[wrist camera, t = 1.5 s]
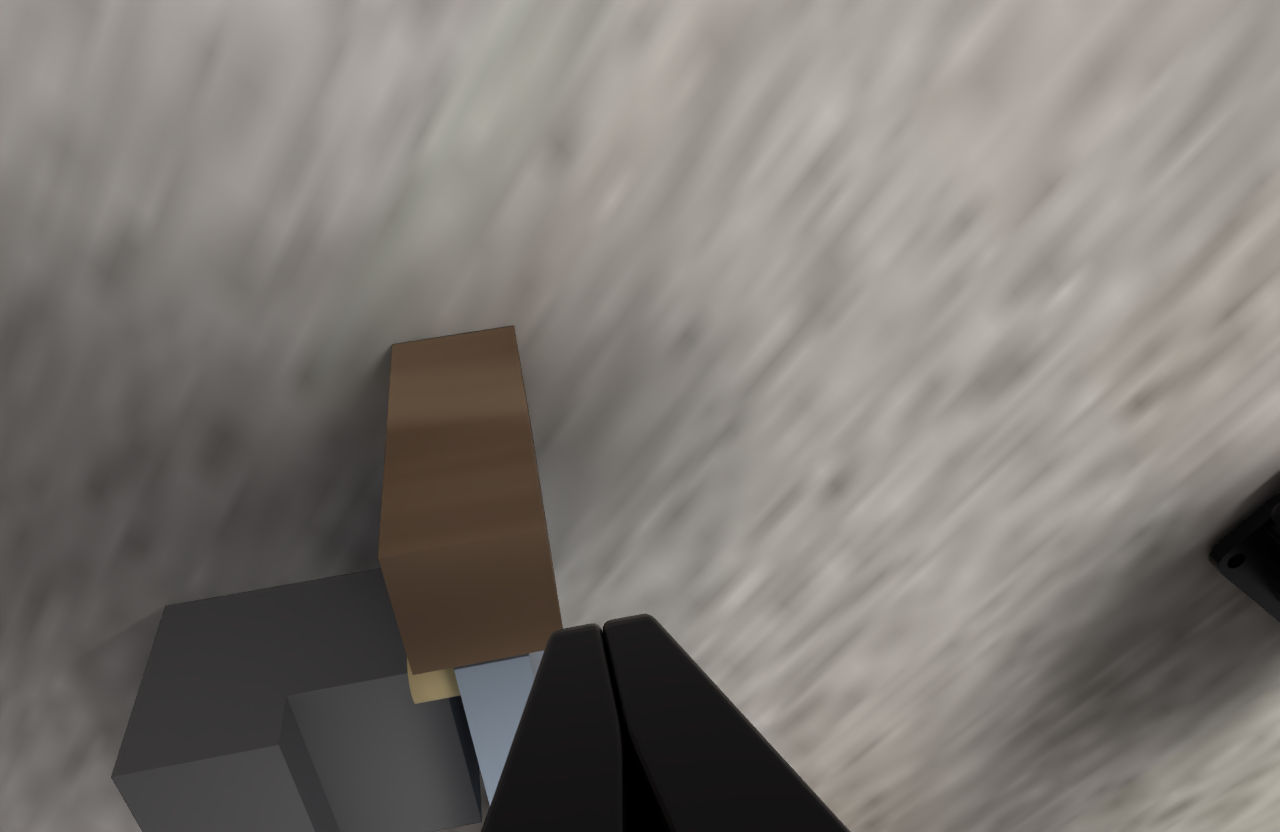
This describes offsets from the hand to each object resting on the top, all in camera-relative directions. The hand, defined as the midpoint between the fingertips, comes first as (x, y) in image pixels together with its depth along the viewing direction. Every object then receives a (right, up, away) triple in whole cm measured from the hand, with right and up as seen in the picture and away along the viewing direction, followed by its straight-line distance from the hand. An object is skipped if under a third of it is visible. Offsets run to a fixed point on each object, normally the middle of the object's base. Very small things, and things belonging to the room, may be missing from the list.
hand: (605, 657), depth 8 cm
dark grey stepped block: (-7, -4, +16) cm, 17 cm away
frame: (-3, -3, +16) cm, 17 cm away
